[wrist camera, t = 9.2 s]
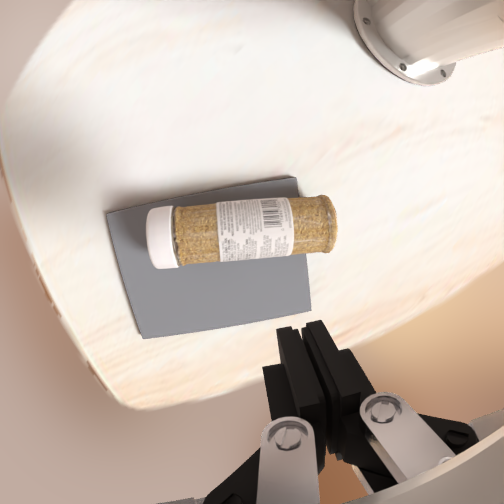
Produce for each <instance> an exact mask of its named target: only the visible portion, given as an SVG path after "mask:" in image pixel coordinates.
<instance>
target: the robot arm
mask: <svg viewBox="0 0 504 504" xmlns="http://www.w3.org/2000/svg"><path fill="white" fill-rule="evenodd" d="M353 10H354V19H355V23H356V27H357V29H358V31H359V34H360V36H361V38H362V39H363V41H364V43H365V44H366V46H367V47H368V49H369V50H370V51H371V52H372V54H373V55H374V56H375V57H376V58H377V59H378V60H379V61H380V62H381V63H382V64H383V65H384V66H385V67H386V68H387V69H389V70H390V71H391V72H392V73H394V74H395V75H397V76H399V77H400V78H402V79H404V80H406V81H408V82H411V83H413V84H417V85H421V86H432V85H436V84H440V83H442V82H444V81H446V80H447V79H448V78H449V77H450V76H451V75H452V73H453V71H454V69H455V65H456V62H457V61H460V60H463V59H466V58H469V57H473V56H476V55H479V54H482V53H486V52H489V51H493V50H496V49H500V48H504V0H355V3H354V7H353ZM276 332H277V339H278V346H279V353H280V360H281V364H276V365H270V366H265V367H262V368H263V374H264V380H265V385H266V391H267V397H268V402H269V408H270V413H271V419H272V422H271V423H270V424H268V425H267V426H266V427H265V429H264V430H263V433H262V436H261V447H260V448H259V449H258V450H257V451H256V452H255V453H254V454H253V455H252V456H251V457H250V458H249V459H248V460H247V461H246V462H244V463H243V464H242V465H241V466H240V467H239V468H238V469H237V470H236V471H235V472H233V473H232V474H231V475H230V476H229V477H228V478H227V479H226V480H224V481H223V482H222V483H221V484H220V485H219V486H218V487H216V488H215V489H214V490H213V491H211V492H210V494H208V495H207V497H205V498H200V499H194V498H188V499H183V500H177V501H171V502H165V503H158V504H320V500H319V485H318V475H319V473H320V472H321V471H322V469H323V468H324V466H325V465H324V464H325V455H326V446H327V449H328V451H329V453H330V454H334V453H335V455H336V458H337V460H341V459H343V461H344V462H346V463H349V464H351V465H352V468H353V470H354V472H355V474H356V475H357V477H358V479H359V480H360V482H361V483H362V485H363V486H364V488H365V490H366V491H367V493H368V496H365V497H362V498H359V499H356V500H352V501H349V502H346V503H342V504H504V409H501V410H498V411H496V412H494V413H491V414H488V415H485V416H482V417H479V418H477V419H474V420H471V421H470V423H469V424H465V423H462V422H457V421H452V420H446V419H442V418H437V417H431V416H427V415H422V414H418V413H416V412H415V411H414V410H413V409H412V408H411V407H410V406H409V405H408V404H407V402H405V400H404V399H403V398H401V397H400V396H399V395H396V394H394V393H388V392H381V393H376V391H375V390H374V388H373V386H372V385H371V383H370V381H369V380H368V378H367V376H366V375H365V373H364V371H363V370H362V368H361V366H360V365H359V363H358V361H357V360H356V358H355V357H354V355H353V353H352V352H351V350H350V349H348V348H347V349H343V350H340V351H339V350H338V348H337V347H336V345H335V343H334V341H333V340H332V338H331V336H330V334H329V332H328V331H327V329H326V327H325V325H324V324H323V322H322V320H318V321H314V322H309V323H306V327H304V328H302V338H301V336H300V333H299V331H298V329H294V330H292V327H291V326H289V327H284V328H279V329H276Z"/></svg>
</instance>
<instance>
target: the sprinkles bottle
mask: <svg viewBox="0 0 504 504" xmlns="http://www.w3.org/2000/svg"><path fill="white" fill-rule="evenodd" d="M337 229H338V228H337V217H336V211H335V208H334V206H333V204H332V202H331V200H330V199H329V197H327V196H325V195H319V196H317V197H303V198H284V197H283V198H266V199H251V200H238V201H226V202H217V203H215V204H207V205H196V206H187V207H180V206H178V207H176V208H175V207H174V206H165V207H158V208H153V209H151V210H150V211H149V213H148V216H147V221H146V239H147V247H148V252H149V256H150V259H151V262H152V264H153V265H154V267H156V268H157V269H167V268H178V267H179V266H180V265H182V266H184V265H186V264H197V263H207V262H216V261H220V262H227V261H238V260H249V259H260V258H271V257H282V256H289V255H294V254H305V253H314V252H323V253H329V252H330V251H331V250H332V249H333V248H334V246H335V243H336V239H337Z"/></svg>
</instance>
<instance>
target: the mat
mask: <svg viewBox="0 0 504 504" xmlns="http://www.w3.org/2000/svg"><path fill="white" fill-rule="evenodd" d="M283 197H284V198H299V193H298V186H297V179H296V177H293V178H286V179H279V180H272V181H266V182H259V183H253V184H247V185H241V186H235V187H229V188H224V189H218V190H213V191H207V192H202V193H197V194H192V195H187V196H182V197H177V198H172V199H167V200H163V201H158V202H154V203H149V204H145V205H140V206H136V207H132V208H127V209H123V210H119V211H115V212H111V213H108V214H106V216H107V220H108V224H109V229H110V233H111V237H112V241H113V245H114V249H115V253H116V256H117V260H118V264H119V267H120V271H121V274H122V278H123V281H124V284H125V288H126V291H127V294H128V297H129V300H130V304H131V307H132V310H133V313H134V316H135V318H136V321H137V324H138V327H139V330H140V333H141V335H142V338H143V339H149V338H157V337H165V336H172V335H179V334H186V333H193V332H200V331H206V330H213V329H219V328H225V327H231V326H236V325H242V324H248V323H253V322H258V321H264V320H269V319H274V318H279V317H284V316H289V315H294V314H298V313H303V312H308V311H311V299H310V288H309V278H308V268H307V259H306V253H305V254H294V255H289V256H282V257H271V258H260V259H249V260H238V261H227V262H220V261H216V262H207V263H197V264H186V265H184V266H182V265H180V266H179V267H178V268H167V269H157V268H156V267H154V265H153V264H152V262H151V259H150V256H149V252H148V247H147V239H146V221H147V216H148V213H149V211H150V210H151V209H153V208H158V207H165V206H174V207H175V208H176V207H178V206H180V207H187V206H196V205H207V204H215V203H217V202H226V201H238V200H251V199H266V198H283Z"/></svg>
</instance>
